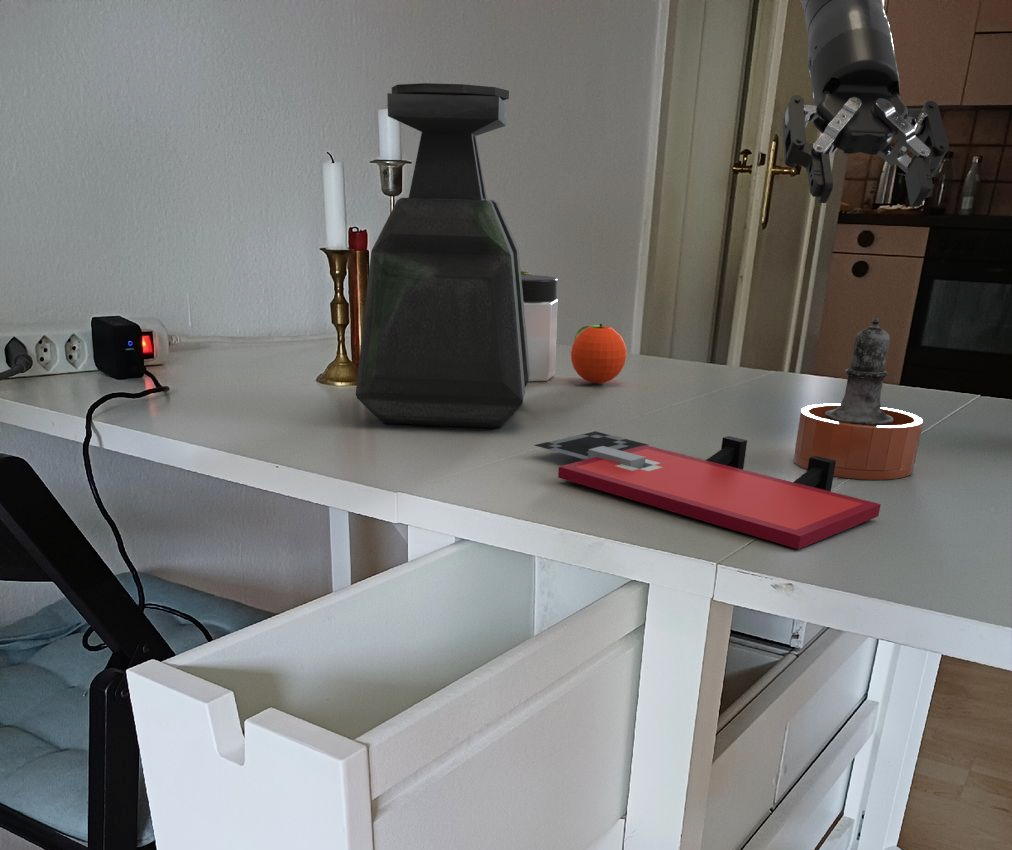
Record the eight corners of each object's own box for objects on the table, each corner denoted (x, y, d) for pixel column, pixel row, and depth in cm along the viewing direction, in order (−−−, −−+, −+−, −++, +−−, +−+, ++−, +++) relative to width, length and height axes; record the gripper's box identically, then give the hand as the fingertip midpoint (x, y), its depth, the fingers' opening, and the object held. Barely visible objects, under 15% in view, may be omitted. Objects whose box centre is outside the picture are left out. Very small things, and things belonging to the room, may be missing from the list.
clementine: (552, 380, 129) (554, 321, 126) (589, 375, 133) (593, 318, 130) (598, 389, 123) (602, 328, 120) (635, 384, 128) (640, 325, 125)
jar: (474, 375, 130) (475, 275, 125) (517, 369, 136) (520, 273, 131) (526, 385, 125) (529, 281, 120) (568, 378, 130) (573, 278, 125)
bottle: (521, 435, 99) (533, 81, 86) (355, 428, 100) (342, 77, 87) (529, 401, 115) (540, 99, 102) (386, 395, 116) (379, 95, 103)
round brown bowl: (886, 452, 97) (896, 405, 95) (931, 481, 88) (942, 428, 86) (779, 450, 96) (786, 402, 95) (813, 478, 87) (822, 426, 85)
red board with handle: (607, 438, 98) (495, 464, 88) (609, 408, 96) (495, 432, 87) (900, 512, 79) (797, 555, 69) (908, 476, 77) (803, 516, 68)
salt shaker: (805, 450, 93) (826, 312, 88) (857, 446, 95) (881, 312, 90) (846, 465, 88) (871, 321, 83) (900, 461, 90) (928, 320, 85)
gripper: (789, 21, 91) (808, 161, 86) (943, 28, 92) (971, 167, 87) (765, 94, 98) (781, 227, 93) (908, 99, 99) (932, 232, 94)
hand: (872, 198), depth 90 cm, fingers open, 8 cm apart
